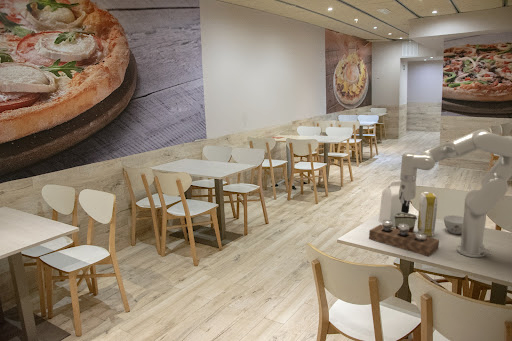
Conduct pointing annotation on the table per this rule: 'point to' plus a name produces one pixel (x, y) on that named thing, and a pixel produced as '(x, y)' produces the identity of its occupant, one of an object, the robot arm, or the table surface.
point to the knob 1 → (387, 225)
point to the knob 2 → (403, 230)
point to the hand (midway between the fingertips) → (405, 212)
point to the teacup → (454, 223)
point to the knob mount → (404, 241)
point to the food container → (405, 220)
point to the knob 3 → (420, 236)
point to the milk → (390, 202)
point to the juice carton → (427, 213)
